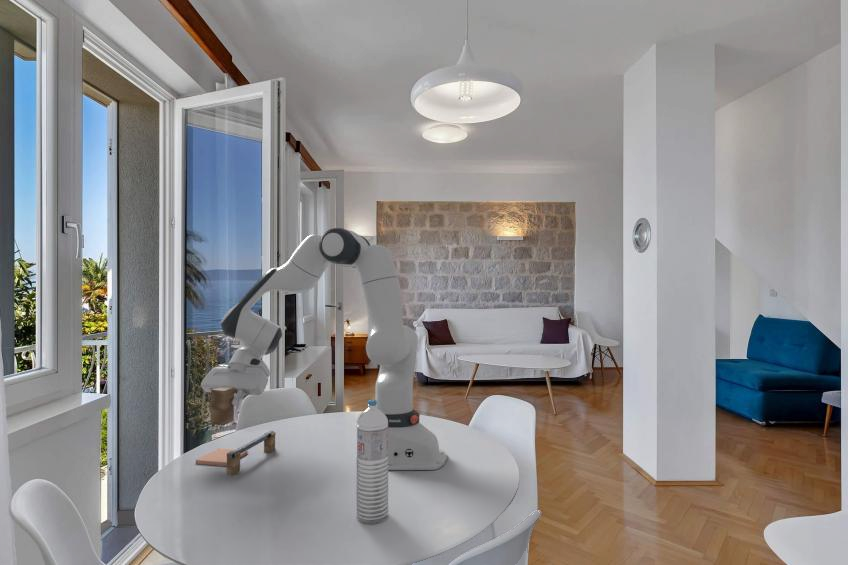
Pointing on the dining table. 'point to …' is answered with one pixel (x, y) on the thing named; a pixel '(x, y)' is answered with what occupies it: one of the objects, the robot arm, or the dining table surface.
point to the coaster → (217, 457)
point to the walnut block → (221, 406)
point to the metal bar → (250, 444)
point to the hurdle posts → (234, 463)
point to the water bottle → (372, 465)
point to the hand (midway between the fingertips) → (222, 404)
